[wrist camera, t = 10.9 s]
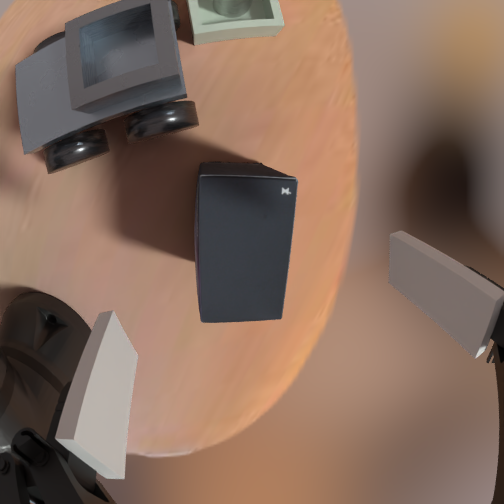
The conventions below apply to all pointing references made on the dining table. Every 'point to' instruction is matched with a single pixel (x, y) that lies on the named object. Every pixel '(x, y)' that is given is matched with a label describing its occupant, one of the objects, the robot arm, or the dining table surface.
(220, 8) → the pin
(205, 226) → the small box
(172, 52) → the trolley
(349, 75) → the dining table surface
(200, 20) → the tray
